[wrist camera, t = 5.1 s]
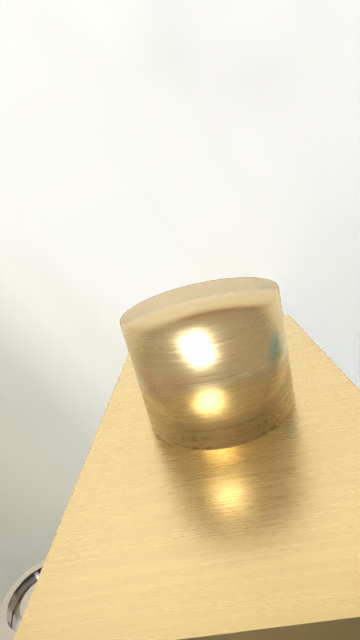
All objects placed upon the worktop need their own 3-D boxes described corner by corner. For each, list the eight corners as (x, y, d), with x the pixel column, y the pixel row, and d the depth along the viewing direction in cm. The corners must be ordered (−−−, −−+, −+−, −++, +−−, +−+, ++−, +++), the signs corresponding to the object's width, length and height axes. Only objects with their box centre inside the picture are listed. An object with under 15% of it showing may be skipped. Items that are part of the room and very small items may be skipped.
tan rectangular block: (279, 245, 9) (587, 374, 2) (317, 527, 12) (492, 956, 5) (111, 284, 9) (-100, 497, 2) (190, 546, 12) (195, 966, 5)
